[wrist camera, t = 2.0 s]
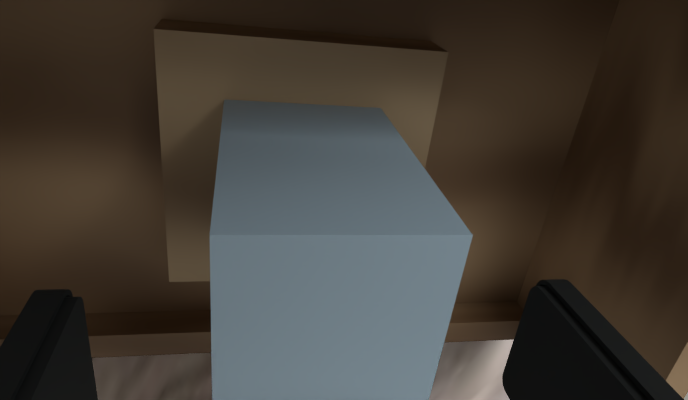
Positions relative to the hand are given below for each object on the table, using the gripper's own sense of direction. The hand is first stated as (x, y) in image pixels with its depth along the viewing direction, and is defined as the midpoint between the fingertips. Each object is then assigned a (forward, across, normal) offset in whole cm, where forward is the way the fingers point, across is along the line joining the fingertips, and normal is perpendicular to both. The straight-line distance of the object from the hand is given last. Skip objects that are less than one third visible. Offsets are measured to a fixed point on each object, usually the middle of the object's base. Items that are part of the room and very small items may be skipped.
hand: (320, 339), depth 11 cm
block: (+6, 0, -1) cm, 6 cm away
